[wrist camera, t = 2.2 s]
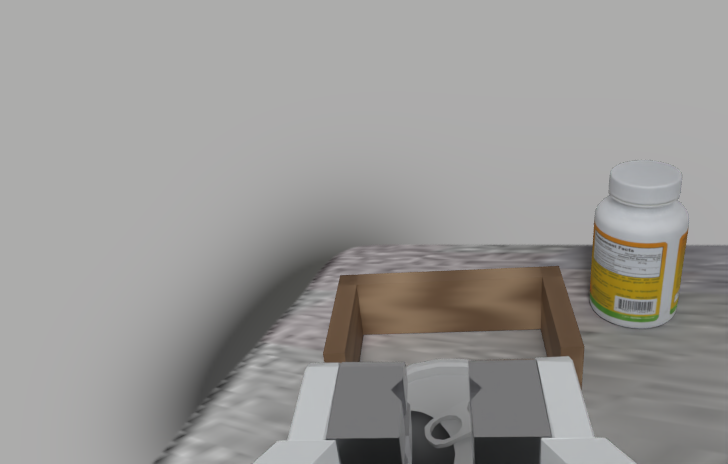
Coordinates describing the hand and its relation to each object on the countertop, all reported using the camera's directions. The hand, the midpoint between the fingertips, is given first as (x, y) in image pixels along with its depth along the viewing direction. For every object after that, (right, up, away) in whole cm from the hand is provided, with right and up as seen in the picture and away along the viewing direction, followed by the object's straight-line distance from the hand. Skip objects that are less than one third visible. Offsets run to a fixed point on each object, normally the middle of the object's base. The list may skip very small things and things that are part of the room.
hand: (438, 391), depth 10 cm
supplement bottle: (+17, -3, +34) cm, 38 cm away
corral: (+4, -5, +31) cm, 32 cm away
